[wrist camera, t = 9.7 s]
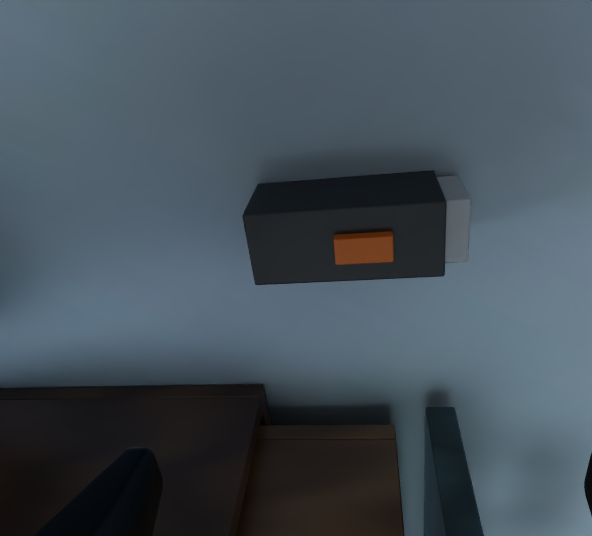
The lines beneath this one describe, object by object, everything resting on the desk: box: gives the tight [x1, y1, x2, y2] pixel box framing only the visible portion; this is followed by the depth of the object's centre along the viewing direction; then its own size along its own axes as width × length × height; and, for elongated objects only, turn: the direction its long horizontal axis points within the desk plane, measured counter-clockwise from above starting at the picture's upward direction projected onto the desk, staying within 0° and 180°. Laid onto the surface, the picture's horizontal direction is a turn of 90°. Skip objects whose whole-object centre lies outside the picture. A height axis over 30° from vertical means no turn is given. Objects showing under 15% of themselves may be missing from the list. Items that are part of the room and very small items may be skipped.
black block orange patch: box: [243, 171, 471, 285], centre depth 17 cm, size 7×3×3 cm, turn 97°
